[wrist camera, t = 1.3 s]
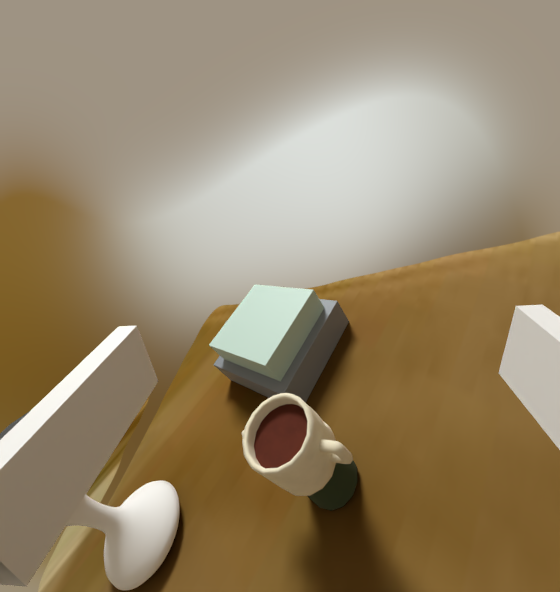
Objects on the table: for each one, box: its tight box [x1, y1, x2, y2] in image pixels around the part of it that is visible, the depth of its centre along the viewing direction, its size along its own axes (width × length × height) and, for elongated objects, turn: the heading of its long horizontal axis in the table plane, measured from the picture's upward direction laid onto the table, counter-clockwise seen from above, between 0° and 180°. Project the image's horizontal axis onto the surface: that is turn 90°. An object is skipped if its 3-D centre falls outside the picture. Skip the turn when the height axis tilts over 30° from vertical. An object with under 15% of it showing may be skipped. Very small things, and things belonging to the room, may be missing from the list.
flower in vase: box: [66, 481, 180, 591], centre depth 33 cm, size 13×11×25 cm
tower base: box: [209, 285, 349, 403], centre depth 48 cm, size 16×16×9 cm
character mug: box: [242, 393, 357, 511], centre depth 30 cm, size 11×7×13 cm, turn 71°
